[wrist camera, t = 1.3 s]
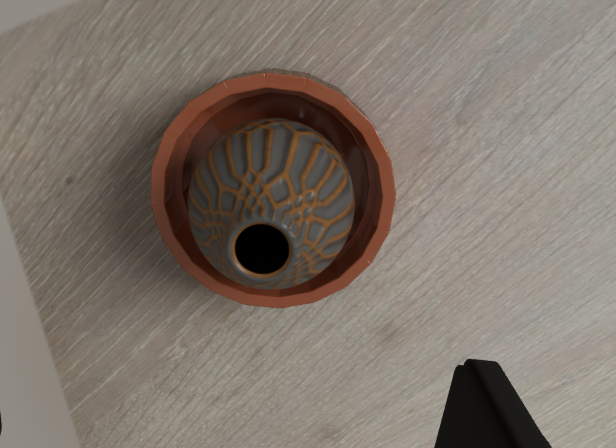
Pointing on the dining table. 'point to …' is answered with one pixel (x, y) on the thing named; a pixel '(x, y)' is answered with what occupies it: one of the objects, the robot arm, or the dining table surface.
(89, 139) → the dining table surface
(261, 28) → the dining table surface
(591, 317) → the dining table surface
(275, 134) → the vase
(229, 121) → the bowl
